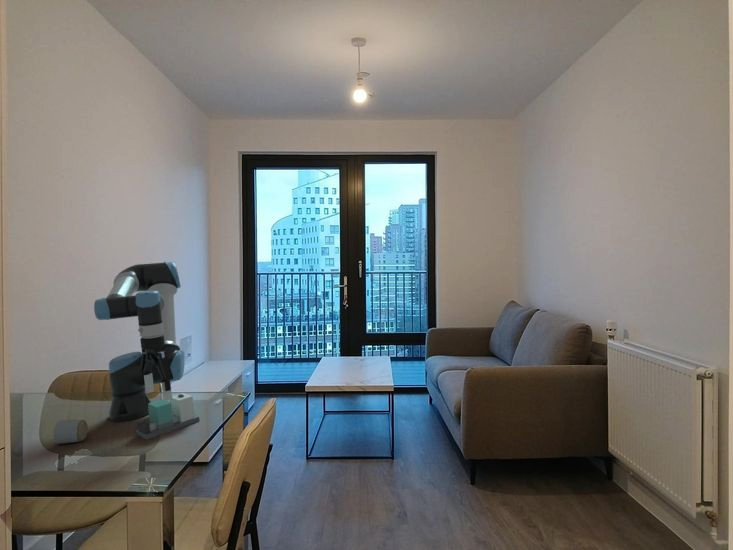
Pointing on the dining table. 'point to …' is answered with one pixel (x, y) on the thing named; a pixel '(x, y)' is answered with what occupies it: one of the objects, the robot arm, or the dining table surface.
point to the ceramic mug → (70, 431)
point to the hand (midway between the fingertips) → (158, 395)
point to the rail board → (175, 426)
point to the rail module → (160, 414)
